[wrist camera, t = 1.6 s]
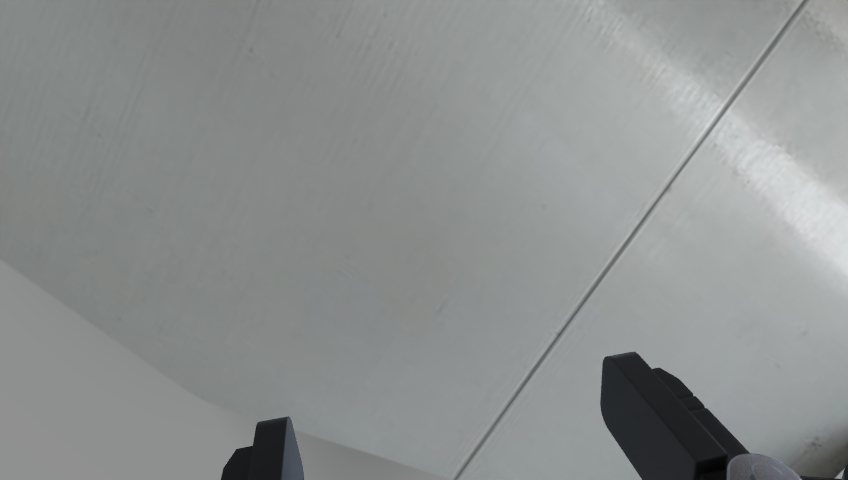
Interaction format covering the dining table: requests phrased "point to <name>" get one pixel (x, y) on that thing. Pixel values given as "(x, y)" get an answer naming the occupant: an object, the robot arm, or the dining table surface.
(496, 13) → the dining table surface
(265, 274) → the dining table surface
